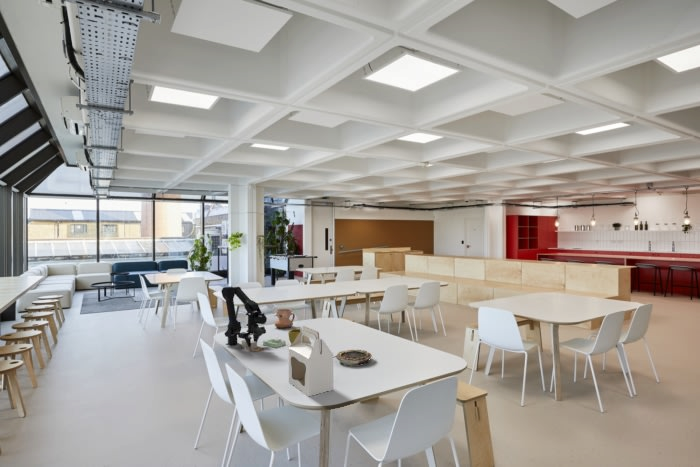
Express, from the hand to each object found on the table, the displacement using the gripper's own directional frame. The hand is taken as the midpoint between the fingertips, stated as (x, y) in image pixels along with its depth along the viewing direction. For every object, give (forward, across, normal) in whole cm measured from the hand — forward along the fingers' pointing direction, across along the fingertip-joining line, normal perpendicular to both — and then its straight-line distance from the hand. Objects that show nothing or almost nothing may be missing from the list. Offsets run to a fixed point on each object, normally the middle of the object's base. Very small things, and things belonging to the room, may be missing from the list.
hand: (252, 346), depth 256 cm
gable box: (+2, -25, -74) cm, 79 cm away
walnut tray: (+2, 0, 0) cm, 2 cm away
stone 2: (+1, +14, -8) cm, 16 cm away
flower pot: (+2, +26, -15) cm, 30 cm away
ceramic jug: (+2, +56, +28) cm, 62 cm away
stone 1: (+1, 0, +6) cm, 7 cm away
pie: (+2, +19, -68) cm, 71 cm away
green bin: (+2, +14, -6) cm, 15 cm away
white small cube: (+1, 0, 0) cm, 1 cm away
